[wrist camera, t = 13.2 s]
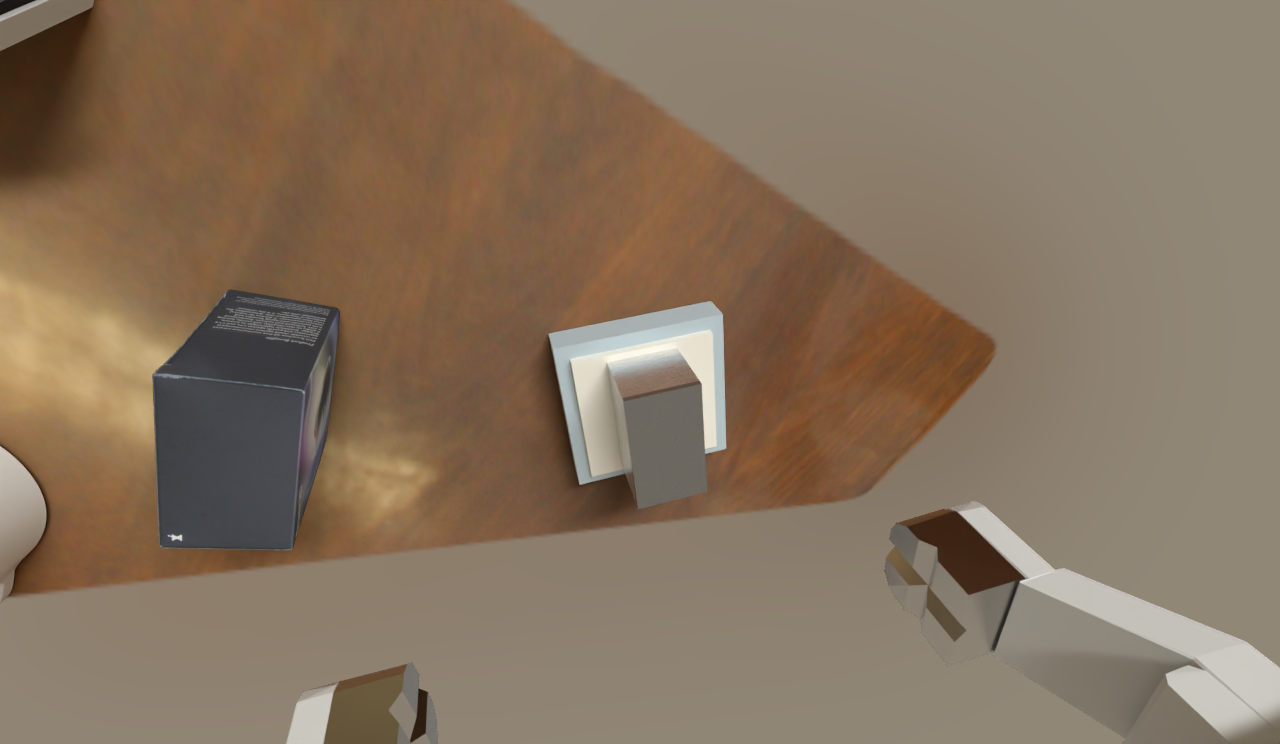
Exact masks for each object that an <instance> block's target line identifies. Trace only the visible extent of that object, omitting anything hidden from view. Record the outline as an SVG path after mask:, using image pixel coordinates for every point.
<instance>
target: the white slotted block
mask: <svg viewBox="0 0 1280 744" xmlns="http://www.w3.org/2000/svg"><path fill="white" fill-rule="evenodd" d="M93 3H94V0H0V51H2V50H4V49H6V48H8V47H10V46H12V45H14V44H16V43H18V42H20V41H23V40H25V39H27V38H29V37H31V36H33V35H35V34H37V33H39V32H42V31H44V30H46V29H48V28H50V27H52V26H54V25H56V24H58V23H60V22H63V21H65V20H67V19H69V18H71V17H73V16H75V15H77V14H79V13H81V12H84V11H86V10H88V9H90V8H92V7H93Z"/></svg>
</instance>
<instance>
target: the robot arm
mask: <svg viewBox="0 0 1280 744" xmlns="http://www.w3.org/2000/svg"><path fill="white" fill-rule="evenodd" d="M45 525H46V506H45V501H44V498H43V495H42V493H41V490H40V489H39V487H38V485H37V483H36V482H35V480H34V479H33V477H32V476H31V475H30V473H29V472H28V471H27V470H26V468H25V467H24V466H23V465H22V464H21V463H20V462H19V461H18V460H17V459H16V458H15V457H13V456H12V455H11V454H10V453H9V452H8V451H6V450H5V449H4V448H2V447H1V446H0V603H1V602H2V601H3V600H4V599H5V598H6V597H7V596H8V595H9V594H10V592H11V590H12V587H13V582H14V573H15V568H16V567H17V565H18V564H19V563H20V561H21V560H22V559H23V558H24V557H25V556H27V555H28V554H29V553H30V552H31V551H32V550H33V548H34V547H35V546H36V545H37V543H38V542H39V540H40V538H41V536H42V534H43V532H44V529H45ZM889 540H890V541H891V542H892V543H893V544H894V546H895V547H894V548H893V549H892V550H891V552H890V553H889V554H888V555H887V557H886V562H885V570H884V571H885V575H886V578H887V582H888V586H889V588H890V590H891V592H892V593H893V595H894V597H895V599H896V600H897V601H898V603H899V604H900V605H901V606H902V608H903V610H905V611H907V612H909V613H911V614H913V615H914V616H916V617H918V618H920V625H921V633H922V634H923V636H924V637H925V638H926V640H927V641H928V642H929V644H930V645H931V646H932V648H933V649H934V650H935V651H936V653H937V654H938V655H939V657H940V658H941V659H942V661H943V662H944V663H945V664H946V666H947V667H948V666H952V665H955V664H958V663H962V662H965V661H969V660H972V659H975V658H979V657H981V656H985V655H988V654H992V653H994V655H993V656H994V657H995V658H997V659H999V660H1000V661H1002V662H1004V663H1005V664H1007V665H1008V666H1010V667H1011V668H1013V669H1015V670H1016V671H1018V672H1019V673H1021V674H1023V675H1024V676H1026V677H1027V678H1029V679H1031V680H1032V681H1034V682H1035V683H1037V684H1039V685H1040V686H1042V687H1043V688H1045V689H1047V690H1048V691H1050V692H1051V693H1053V694H1055V695H1056V696H1058V697H1059V698H1061V699H1063V700H1064V701H1066V702H1068V703H1069V704H1071V705H1072V706H1074V707H1075V708H1077V709H1079V710H1080V711H1082V712H1083V713H1085V714H1087V715H1088V716H1090V717H1091V718H1093V719H1095V720H1096V721H1098V722H1100V723H1101V724H1103V725H1104V726H1106V727H1107V728H1109V729H1111V730H1112V731H1114V732H1116V733H1117V734H1119V735H1120V736H1122V737H1123V738H1125V739H1124V741H1123V742H1122V744H1280V668H1279V667H1278V666H1276V665H1275V664H1274V663H1273V662H1271V661H1270V660H1269V659H1268V658H1266V657H1265V656H1264V655H1262V654H1261V653H1260V652H1258V651H1257V650H1256V649H1255V648H1253V647H1252V646H1251V645H1250V644H1248V643H1247V642H1245V641H1243V640H1240V639H1238V638H1235V637H1233V636H1230V635H1228V634H1225V633H1223V632H1220V631H1218V630H1215V629H1213V628H1210V627H1208V626H1206V625H1203V624H1201V623H1198V622H1196V621H1193V620H1191V619H1188V618H1186V617H1183V616H1181V615H1178V614H1176V613H1173V612H1171V611H1168V610H1166V609H1163V608H1161V607H1158V606H1156V605H1154V604H1151V603H1149V602H1146V601H1144V600H1141V599H1139V598H1136V597H1134V596H1131V595H1129V594H1126V593H1124V592H1121V591H1119V590H1116V589H1114V588H1111V587H1109V586H1106V585H1104V584H1101V583H1099V582H1097V581H1094V580H1092V579H1089V578H1087V577H1084V576H1082V575H1079V574H1076V573H1074V572H1072V571H1069V570H1067V569H1064V568H1060V569H1057V570H1054V569H1053V568H1052V567H1051V566H1050V565H1049V564H1048V563H1047V562H1045V561H1044V560H1043V559H1042V558H1041V557H1040V556H1039V555H1038V554H1037V553H1036V552H1034V551H1033V550H1032V549H1031V548H1030V547H1029V546H1028V545H1027V544H1026V543H1025V542H1023V541H1022V540H1021V539H1020V538H1019V537H1018V536H1017V535H1016V534H1014V533H1013V532H1012V531H1011V530H1010V529H1009V528H1008V527H1007V526H1006V525H1005V524H1003V523H1002V522H1001V521H1000V520H999V519H998V518H997V517H996V516H995V515H993V514H992V513H991V512H990V511H989V510H988V509H987V508H986V507H985V506H983V505H982V504H979V503H977V502H975V501H973V502H968V503H965V504H961V505H958V506H955V507H951V508H948V509H942V510H938V511H935V512H932V513H928V514H925V515H922V516H919V517H915V518H912V519H909V520H905V521H902V522H899V523H896V524H895V525H894V526H893V527H892V528H891V532H890V537H889ZM418 687H419V674H418V672H417V670H416V669H415V667H414V665H413V663H409V664H405V665H401V666H398V667H393V668H390V669H386V670H382V671H378V672H374V673H371V674H367V675H363V676H359V677H355V678H352V679H348V680H344V681H340V682H336V683H332V684H329V685H326V686H322V687H319V688H315V689H311V690H308V691H304V692H303V693H302V695H301V697H300V698H299V700H298V702H297V704H296V705H295V709H294V713H293V717H292V720H291V725H290V728H289V733H288V736H287V741H286V744H438V730H437V721H436V713H435V710H434V706H433V703H432V700H431V698H430V696H429V694H428V692H426V691H424V690H421V689H419V688H418Z"/></svg>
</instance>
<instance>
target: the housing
mask: <svg viewBox="0 0 1280 744" xmlns="http://www.w3.org/2000/svg"><path fill="white" fill-rule="evenodd" d="M607 367H608V374H609V381H610V388H611V395H612V401H613V408H614V415H615V422H616V429H617V436H618V443H619V449H620V456H621V463H622V467H623V469H624V472H625V475H626V478H627V480H628V483H629V486H630V489H631V491H632V494H633V497H634V500H635V502H636V505H637V508H638V509H642V508H646V507H650V506H654V505H657V504H661V503H665V502H669V501H673V500H677V499H681V498H684V497H688V496H692V495H696V494H700V493H704V492H707V482H706V461H705V441H704V421H703V400H702V384H701V382H700V381H699V379H698V378H697V376H696V375H695V373H694V372H693V370H692V369H691V367H690V366H689V364H688V363H687V361H686V360H685V358H684V357H683V355H682V354H681V352H680V351H679V350H678V348H673V349H668V350H663V351H659V352H654V353H649V354H645V355H640V356H635V357H631V358H626V359H621V360H617V361H612V362H607Z"/></svg>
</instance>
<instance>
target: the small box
mask: <svg viewBox="0 0 1280 744" xmlns="http://www.w3.org/2000/svg"><path fill="white" fill-rule="evenodd" d="M339 314H340V311H339V309H338V308H334V307H329V306H324V305H318V304H313V303H306V302H300V301H295V300H290V299H284V298H277V297H272V296H266V295H260V294H254V293H248V292H242V291H237V290H228V291H226V292H225V293H224V294H223V296H222V298H221V299H220V300H219V301H218V303H217V304H216V305H215V307H214V308H213V309H212V310H211V311H210V313H209V314H208V315H207V316H206V317H205V318H204V320H203V321H202V322H201V323H200V324H199V326H198V327H197V328H196V329H195V330H194V331H193V333H192V334H191V335H190V336H189V337H188V338H187V340H186V341H185V342H184V343H183V345H182V346H180V347H179V349H178V350H177V351H176V352H175V353H174V354H173V356H172V357H170V358H169V359H168V360H167V361H166V362H165V363H164V365H162V366H161V367H160V368H158V370H156V371H155V373H154V374H153V376H152V377H153V403H154V426H155V427H154V431H155V460H156V482H157V508H158V528H159V530H158V531H159V546H160V547H162V548H197V549H248V550H291V549H292V548H293V546H294V542H295V539H296V535H297V533H298V529H299V527H300V524H301V520H302V517H303V514H304V511H305V508H306V504H307V501H308V498H309V495H310V492H311V488H312V485H313V482H314V479H315V476H316V472H317V469H318V466H319V463H320V460H321V456H322V453H323V450H324V446H325V442H326V437H327V430H328V422H329V413H330V405H331V396H332V387H333V378H334V368H335V358H336V349H337V338H338V326H339Z"/></svg>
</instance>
